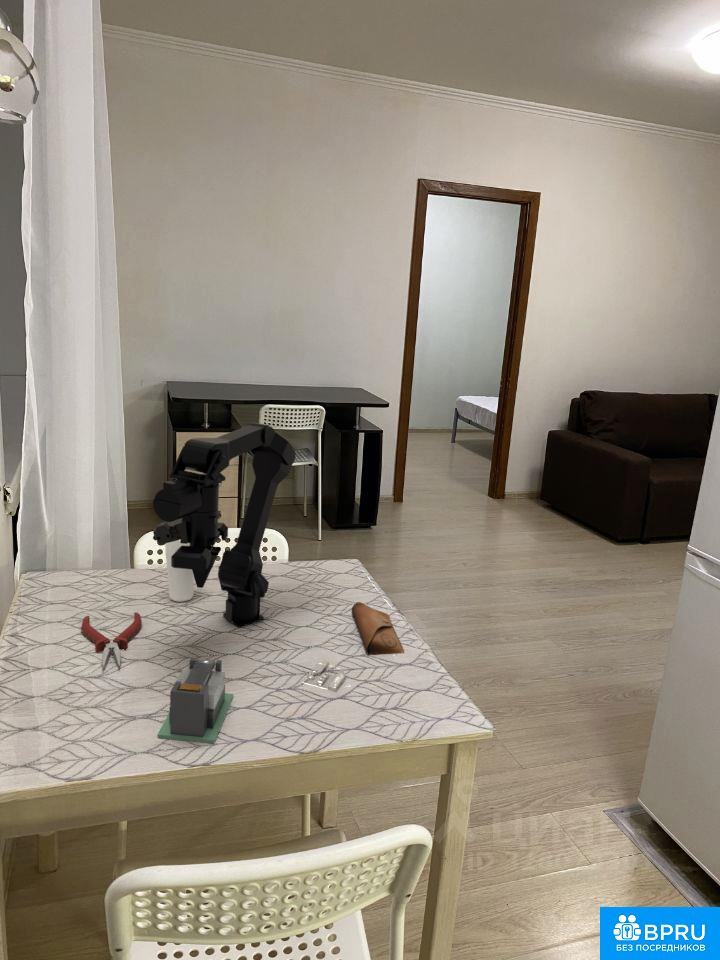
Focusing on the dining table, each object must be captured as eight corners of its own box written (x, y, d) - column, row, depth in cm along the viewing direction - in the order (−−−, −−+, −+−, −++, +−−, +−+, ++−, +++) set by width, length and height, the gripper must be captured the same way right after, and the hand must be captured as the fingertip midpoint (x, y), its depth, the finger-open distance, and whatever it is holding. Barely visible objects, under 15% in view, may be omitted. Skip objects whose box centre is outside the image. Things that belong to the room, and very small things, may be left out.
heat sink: (184, 696, 121) (184, 666, 120) (224, 700, 121) (225, 670, 120) (169, 724, 114) (169, 692, 112) (212, 728, 113) (213, 697, 112)
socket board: (182, 691, 124) (182, 649, 121) (233, 696, 123) (234, 654, 121) (157, 737, 111) (157, 691, 109) (214, 743, 111) (215, 697, 109)
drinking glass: (182, 588, 164) (183, 526, 159) (203, 597, 160) (204, 534, 156) (158, 597, 158) (158, 534, 154) (179, 607, 154) (179, 542, 150)
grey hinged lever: (197, 656, 120) (179, 688, 110) (215, 657, 120) (198, 690, 110) (197, 665, 121) (178, 699, 110) (215, 667, 121) (198, 700, 110)
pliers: (77, 677, 126) (76, 664, 126) (82, 625, 145) (82, 613, 144) (144, 671, 130) (144, 658, 129) (141, 621, 148) (141, 609, 148)
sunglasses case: (408, 653, 142) (393, 628, 140) (377, 670, 142) (362, 645, 140) (387, 613, 159) (374, 589, 157) (360, 628, 159) (346, 605, 157)
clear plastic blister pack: (335, 695, 127) (335, 687, 127) (300, 685, 130) (300, 678, 129) (351, 674, 135) (351, 667, 134) (317, 665, 137) (318, 658, 136)
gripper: (173, 490, 140) (172, 565, 144) (142, 519, 122) (141, 603, 126) (229, 495, 140) (227, 570, 144) (206, 525, 122) (204, 609, 125)
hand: (200, 586), depth 135 cm, fingers closed
